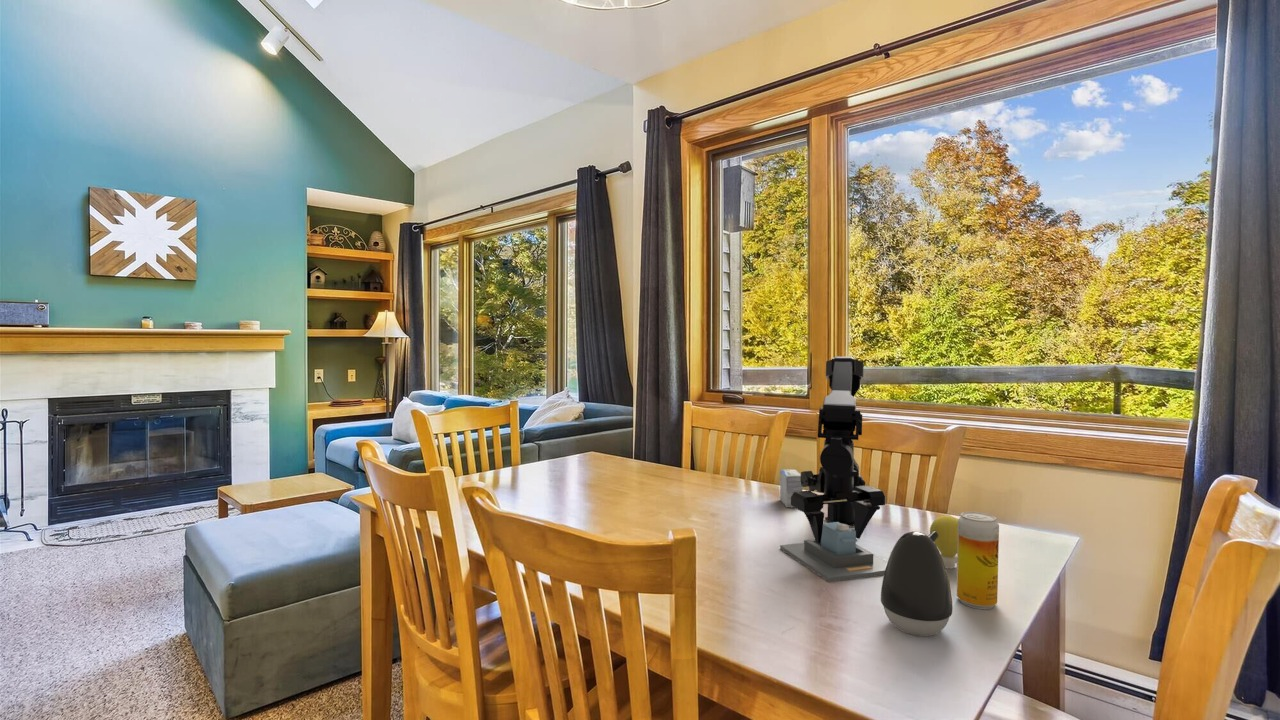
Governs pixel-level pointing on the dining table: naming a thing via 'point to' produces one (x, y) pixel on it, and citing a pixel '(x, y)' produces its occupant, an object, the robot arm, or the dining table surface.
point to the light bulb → (946, 539)
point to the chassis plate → (836, 561)
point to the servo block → (838, 538)
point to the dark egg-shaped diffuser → (917, 586)
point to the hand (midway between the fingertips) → (837, 540)
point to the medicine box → (789, 485)
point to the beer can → (977, 560)
